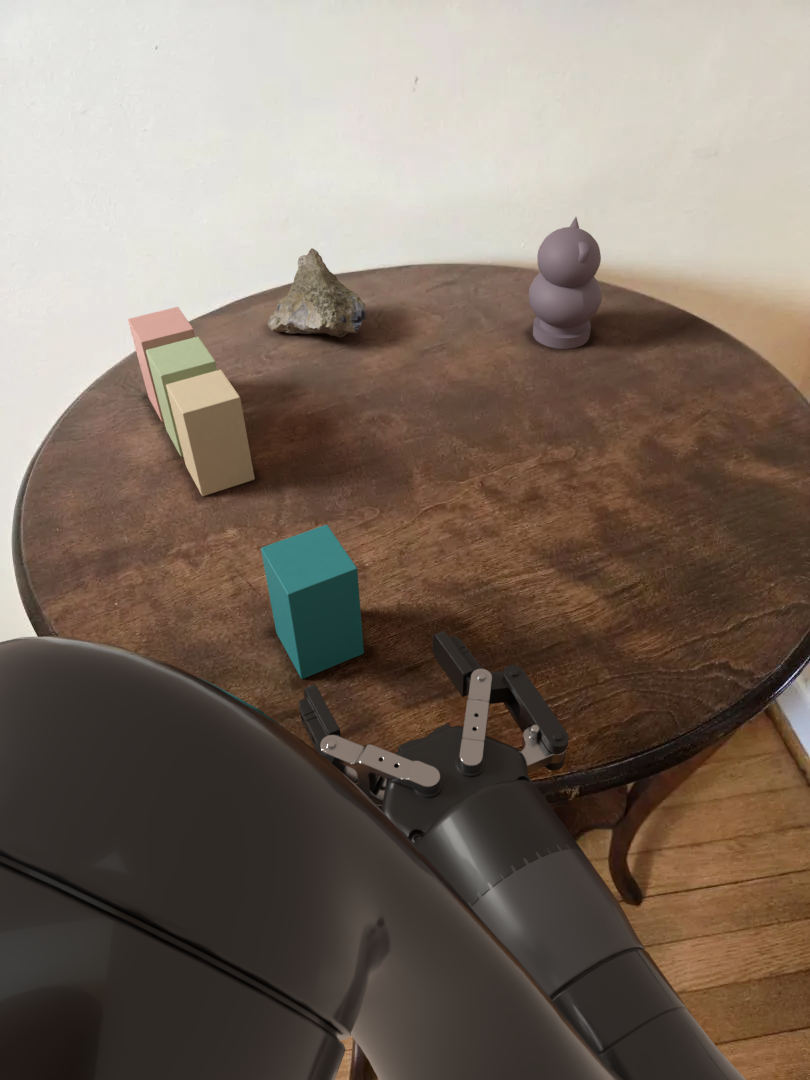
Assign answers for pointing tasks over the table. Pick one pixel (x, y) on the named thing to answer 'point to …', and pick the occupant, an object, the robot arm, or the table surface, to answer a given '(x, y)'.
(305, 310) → the rock
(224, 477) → the line block
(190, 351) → the line block
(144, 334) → the line block
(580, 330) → the cat figurine
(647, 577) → the table surface
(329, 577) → the teal block
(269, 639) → the table surface
